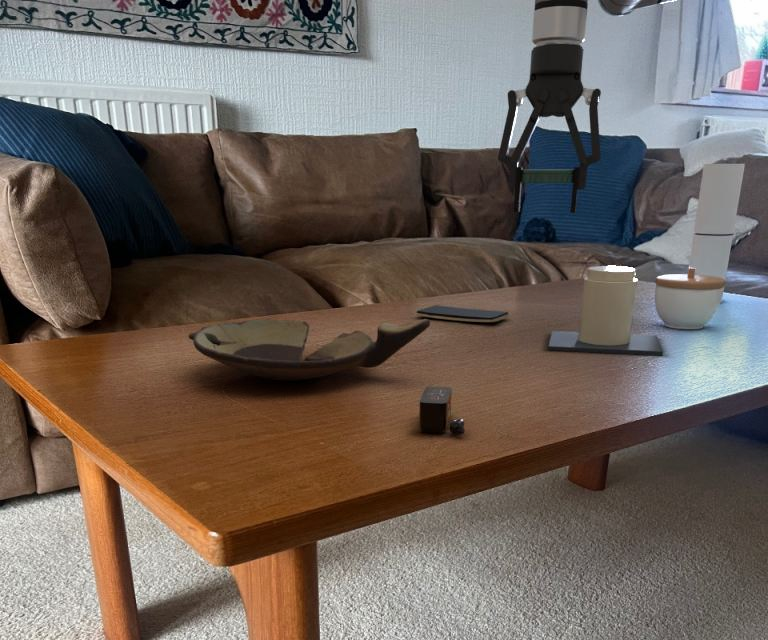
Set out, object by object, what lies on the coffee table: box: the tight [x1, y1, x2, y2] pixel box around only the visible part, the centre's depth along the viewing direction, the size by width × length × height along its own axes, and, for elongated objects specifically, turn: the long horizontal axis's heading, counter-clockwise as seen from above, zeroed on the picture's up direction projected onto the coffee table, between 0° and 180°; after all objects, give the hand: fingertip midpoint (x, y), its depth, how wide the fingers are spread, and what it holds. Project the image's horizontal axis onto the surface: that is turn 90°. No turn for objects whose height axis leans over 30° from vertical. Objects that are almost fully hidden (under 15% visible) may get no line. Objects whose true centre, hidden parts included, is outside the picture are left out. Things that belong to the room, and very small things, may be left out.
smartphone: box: [416, 304, 510, 323], centre depth 138 cm, size 7×1×15 cm
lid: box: [521, 169, 574, 184], centre depth 121 cm, size 8×8×2 cm
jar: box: [578, 265, 638, 346], centre depth 116 cm, size 8×8×10 cm
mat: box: [547, 330, 664, 356], centre depth 118 cm, size 16×12×1 cm
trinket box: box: [654, 267, 726, 330], centre depth 129 cm, size 11×11×9 cm
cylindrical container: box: [687, 163, 746, 303], centre depth 151 cm, size 7×7×25 cm
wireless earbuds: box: [418, 385, 465, 436], centre depth 80 cm, size 5×7×3 cm, turn 170°
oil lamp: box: [188, 318, 431, 382], centre depth 99 cm, size 22×30×8 cm
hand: (544, 211), depth 123 cm, fingers closed on lid, 8 cm apart
